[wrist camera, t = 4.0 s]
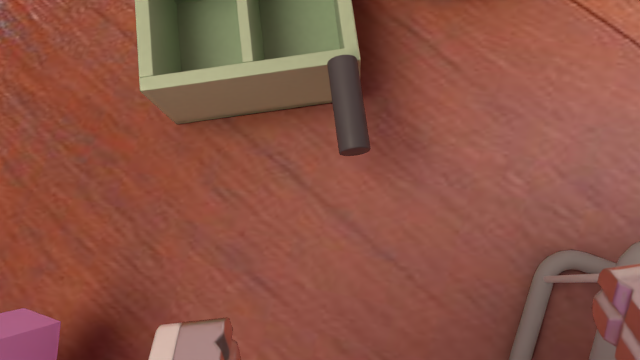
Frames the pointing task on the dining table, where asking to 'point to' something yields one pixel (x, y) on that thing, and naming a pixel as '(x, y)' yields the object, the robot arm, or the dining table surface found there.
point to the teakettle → (28, 336)
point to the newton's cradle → (541, 289)
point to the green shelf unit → (252, 60)
